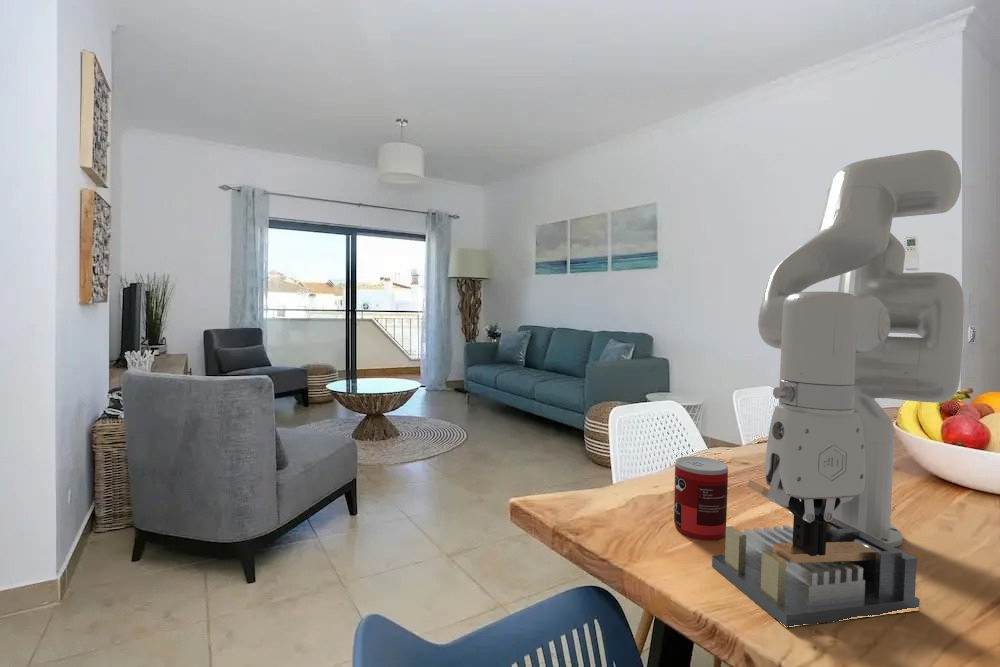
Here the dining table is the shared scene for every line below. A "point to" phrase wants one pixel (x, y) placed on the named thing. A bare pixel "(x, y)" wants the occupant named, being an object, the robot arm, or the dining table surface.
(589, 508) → the dining table surface
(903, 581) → the heatsink block
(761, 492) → the strap
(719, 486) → the canned food
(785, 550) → the near strap
